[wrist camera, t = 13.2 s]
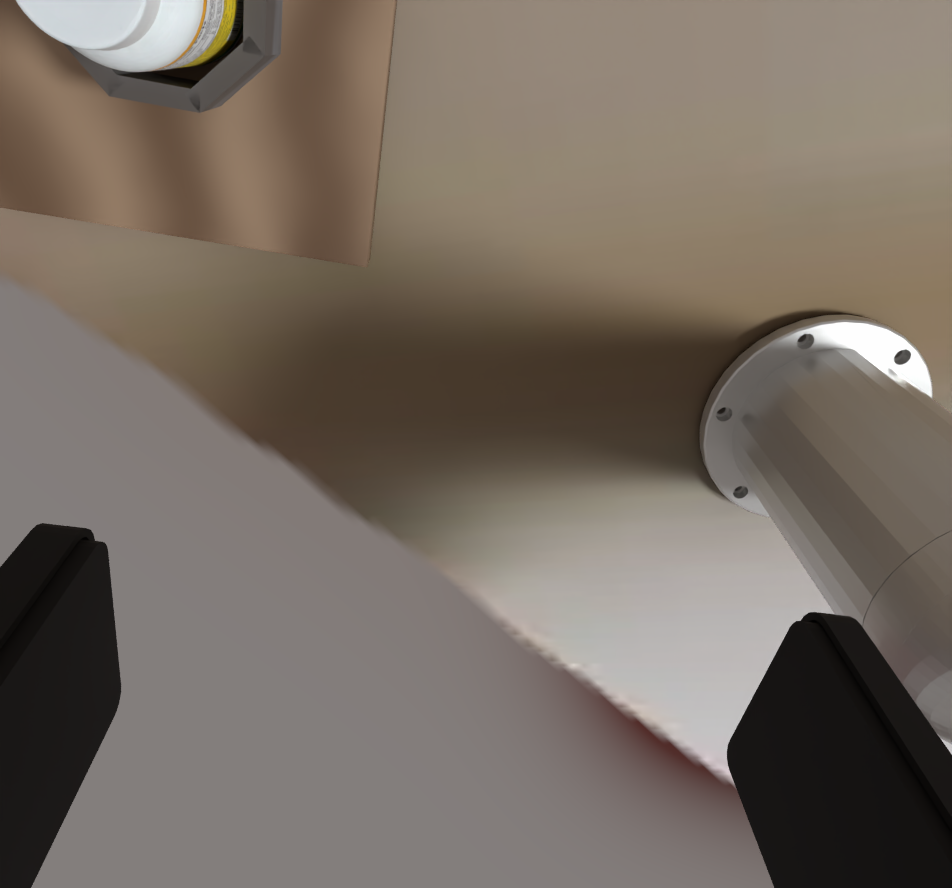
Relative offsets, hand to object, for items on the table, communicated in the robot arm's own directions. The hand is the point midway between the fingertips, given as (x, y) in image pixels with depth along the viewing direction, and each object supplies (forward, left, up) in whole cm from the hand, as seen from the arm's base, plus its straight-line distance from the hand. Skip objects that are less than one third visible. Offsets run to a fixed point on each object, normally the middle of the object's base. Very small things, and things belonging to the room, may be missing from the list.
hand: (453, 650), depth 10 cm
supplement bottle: (+12, -7, -27) cm, 30 cm away
